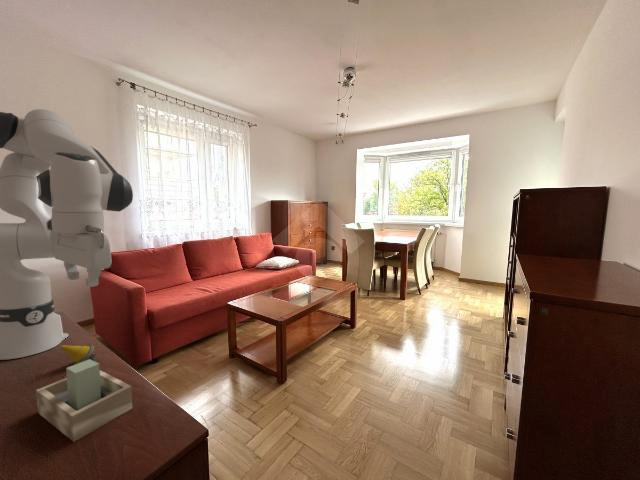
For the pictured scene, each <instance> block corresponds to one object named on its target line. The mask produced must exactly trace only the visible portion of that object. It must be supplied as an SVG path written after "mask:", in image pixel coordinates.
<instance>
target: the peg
mask: <svg viewBox="0 0 640 480" xmlns="http://www.w3.org/2000/svg"><path fill="white" fill-rule="evenodd" d="M100 370H101V369H100V363H99V362H97V361H95V360H94V359H93V360H91V359H89V360H86V361H83V362H81V363H78V364H73V365H70V366H67V367H66V378H67V388H68V405H69V406H70V407H72V408H73V409H74V410H76V411H78V410H80V409H82V408H84V407H86V406H88V405H90V404H92V403H94V402H96V401H98V400H100V399H101V389H100Z"/></svg>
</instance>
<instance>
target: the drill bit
mask: <svg viewBox="0 0 640 480" xmlns="http://www.w3.org/2000/svg"><path fill="white" fill-rule="evenodd" d="M59 347H60V348H61V349H62V350H63V351H64V352H65V353H66V354H67V355H68V356H69V357H70V358H71V360H73V361H74V362H73V363H74V364H73V365H76V364H78V363H81V362H83V361H86V360H89V359H91V360H93V361H94V360H96V356H97V354H96V353H94V351H95V346H94V345H92V344H88V345H66V344H65V345H63V344H61V345H59Z"/></svg>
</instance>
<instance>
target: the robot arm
mask: <svg viewBox="0 0 640 480" xmlns="http://www.w3.org/2000/svg"><path fill="white" fill-rule="evenodd" d="M0 149H5V150H7V151H10V152H11V153H9V154H8V153H7V155H6V156H5V157H4V158H3V160H2V162H1V165H0V209H1V210H2V211H3V212H5V213H6V214H9V215H11V216H13V217H18V218H21V219H23V220H25V221H24V222H21V223H20V222H19V223H14V222H13V223H11V222H10V223H5V222H4V223H3V222H0V360H1V361H3V360H12V359H14V360H15V359H19V358H24V357H29V356H32V355H37V354H40V353H43V352H46V351H48V350H51V349H53V348H55V347H57V346H58V345H60V344H61V343H62V341H64V340H66V339H68V338H69V337H70V336H69V333H66V332H63V331H64V330H63V324H62V319H61V318H62V317H61V315H60V314H58V313H55V302H54V301H55V300H54V299H52V285H51V279H50V278H51V277H49V275H48V274H46V273H45V272H42V271H39V270H36V269H31V268H28V267H26V266H25V265H24V264H23V262H22V261H21V260H34V259H35V260H36V259H37V260H38V259H51V258H54V259H55V260H57V261H62V262H63V267H64V269H65V272H66V278H67V279H68V280H70V281H74V280H79V279H80V271H78V268H77V266H78V267H81V268H85V269H86V272H87V278H85V284H86V287H90V288H93V287H97V286H99V278H100V275H101V273H102V270H104V269H110V268H111V265H112V253H111V252H112V251H111V244H110V239H109V238H108V236H107V235H105V234H104V232H105V226H104V221H105V220H104V211H106V212H107V211H109V212H119V213H120V212H121V211H123V210H125V209H126V208H128V207H129V206H130V205H131V204H132V202H133V197H134V194H133V189H132V186H131V184H130V182H129V181H128V180H127V179H126V178H125V177H124V176H123V175H122V174H120V173H118V172H117V171H116V169H115V168H114V167H113V166H112V165H111V164H110V161H108V160H107V159H106V158H105V156H104V155H102V153H101V152H99V151H98V149H96V148H94V147H93V146H91V145H89V144H87V143H86V142H84V141H83V140H81V139H80V138H79V137H78V136H76V134H75V132H74V130H73V129H72V127H71V126H70V125H69V123H68V122H67V121H66V120H65V119H64V118H63V117H61V116H60V115H59V114H57V113H56V112H53V111H51V110H48V109H43V108H40V109H39V108H37V109H32V110H30V111H28V112H27V113H26V115H25V116H24V117H20V116H18V115H15V114H13V113H12V112H5V111H4V112H3V111H0ZM68 336H69V337H68ZM67 337H68V338H67ZM65 338H66V339H65Z"/></svg>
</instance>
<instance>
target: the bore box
mask: <svg viewBox="0 0 640 480" xmlns="http://www.w3.org/2000/svg"><path fill="white" fill-rule="evenodd" d="M100 389H101V399H100V400H98V401H96V402H94V403H92V404H90V405H88V406H86V407H84V408H82V409H80V410H78V411H76V410H74V409H73V408H72V407H70V406H69V405H68V388H67V377H65V378H63V379H60V380H57V381H55V382H53V383H50V384H48V385H46V386H43V387H41V388H38V389H36V390H35V393H36V407H37V408H36V409H37V414H38V415H40V416H41V417H42V418H44V419H45V420H46V421H47V422H49V423H50V424H51V425H52V426H53V427H55V428H56V429H57V430H59V431H60V432H61V433H62V434H63V435H64V436H66V437H67V438H68V439H70V441H72V442H73V443H75V442H77V441H78V440H80V439H82V438H84V437H85V436H87V435H88V434H90V433H92V432H94V431H95V430H97V429H99V428H101V427H103V426H104V425H106V424H108V423H109V422H112V421H114V420H115V419H117V418H119V417H120V416H122V415H124V414H125V413H127V412H128V411H130V410H132V409H133V387H132V385H130V384H128V383H126V382H125V381H122V380H121V379H119V378H116V377H114V376H113V375H110V374H109V373H107V372H105V371H102V370H101V369H100ZM76 440H77V441H76Z"/></svg>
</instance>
